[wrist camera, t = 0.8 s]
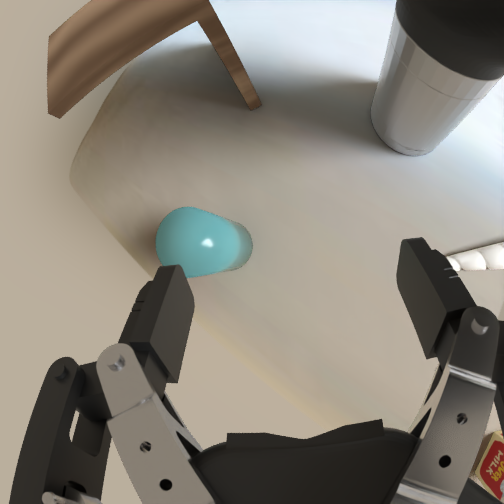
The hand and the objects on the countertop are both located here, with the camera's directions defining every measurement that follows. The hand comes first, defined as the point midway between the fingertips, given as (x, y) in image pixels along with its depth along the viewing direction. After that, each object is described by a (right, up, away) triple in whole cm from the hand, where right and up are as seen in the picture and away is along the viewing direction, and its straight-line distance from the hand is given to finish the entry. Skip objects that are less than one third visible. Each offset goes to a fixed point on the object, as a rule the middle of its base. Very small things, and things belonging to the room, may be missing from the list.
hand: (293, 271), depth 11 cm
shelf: (-10, +21, +25) cm, 34 cm away
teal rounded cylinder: (-4, +1, +23) cm, 24 cm away
